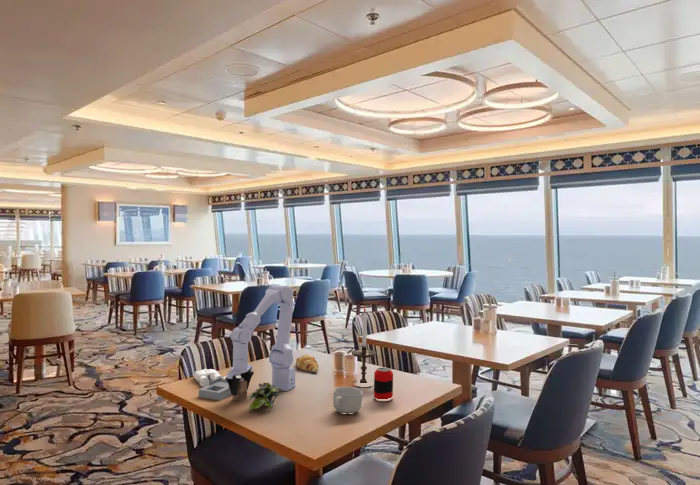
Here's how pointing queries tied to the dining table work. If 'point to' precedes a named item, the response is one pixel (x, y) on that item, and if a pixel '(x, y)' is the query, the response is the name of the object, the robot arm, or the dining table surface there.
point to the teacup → (347, 399)
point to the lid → (226, 376)
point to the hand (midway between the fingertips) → (239, 392)
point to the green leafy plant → (264, 396)
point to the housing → (215, 390)
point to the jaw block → (241, 390)
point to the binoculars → (206, 376)
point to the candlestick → (364, 349)
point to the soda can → (383, 383)
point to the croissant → (307, 363)
